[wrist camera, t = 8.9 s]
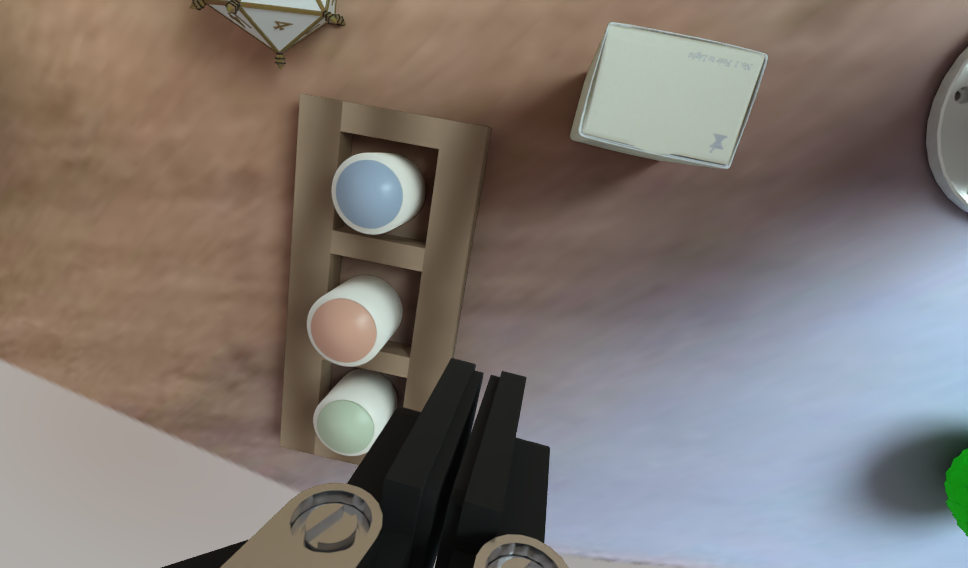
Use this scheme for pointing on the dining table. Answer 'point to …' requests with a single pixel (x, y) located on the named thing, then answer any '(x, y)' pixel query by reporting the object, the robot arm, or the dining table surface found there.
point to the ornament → (958, 489)
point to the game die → (276, 19)
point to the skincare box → (668, 96)
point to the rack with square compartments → (376, 253)
